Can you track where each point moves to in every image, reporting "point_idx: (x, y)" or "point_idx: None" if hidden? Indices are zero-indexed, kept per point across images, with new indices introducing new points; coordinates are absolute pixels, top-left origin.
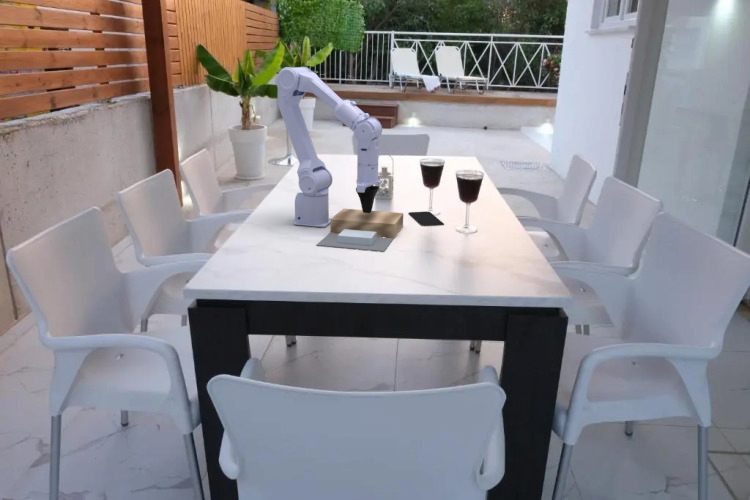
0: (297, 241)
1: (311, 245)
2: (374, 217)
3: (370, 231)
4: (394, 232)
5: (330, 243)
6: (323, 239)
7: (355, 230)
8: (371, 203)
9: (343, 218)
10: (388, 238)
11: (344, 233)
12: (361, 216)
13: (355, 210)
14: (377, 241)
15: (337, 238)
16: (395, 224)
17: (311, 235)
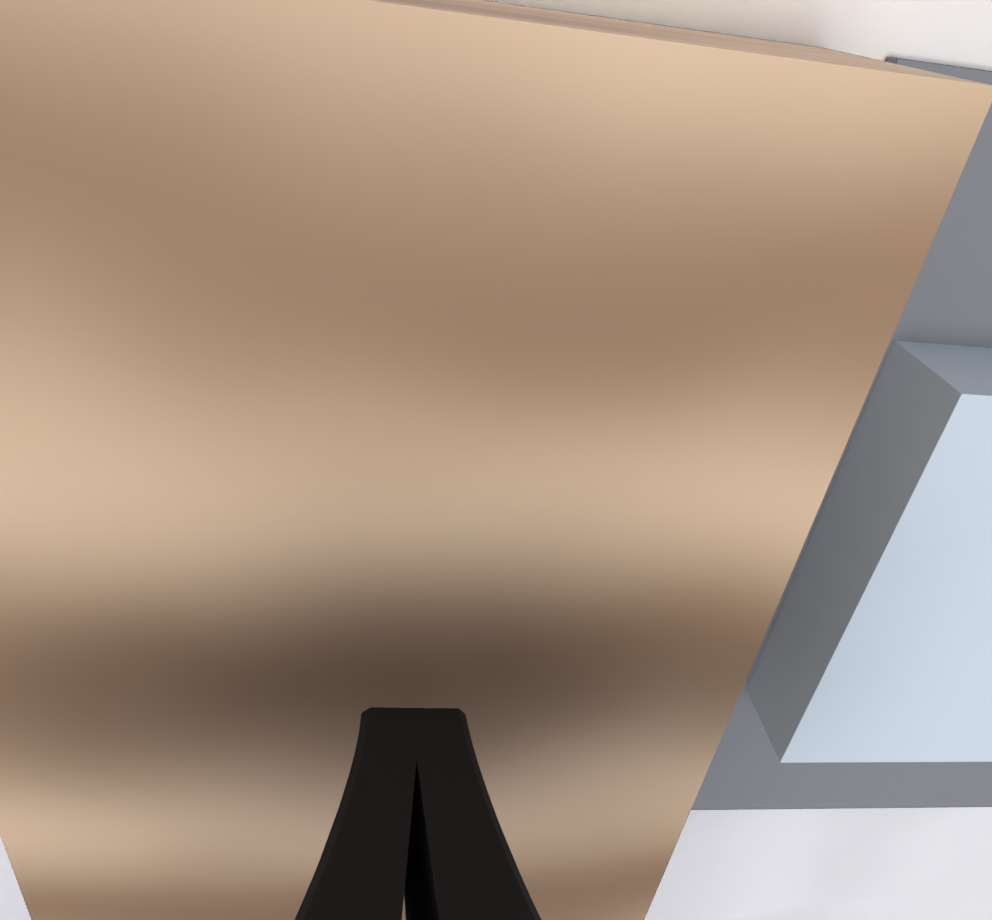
0: (846, 909)
1: (970, 823)
2: (446, 577)
3: (925, 483)
4: (871, 59)
5: None
6: (850, 801)
7: (848, 656)
8: (534, 907)
9: (588, 885)
10: None
11: (966, 726)
12: None
13: (81, 872)
14: None
15: None
16: (866, 67)
17: (681, 884)
